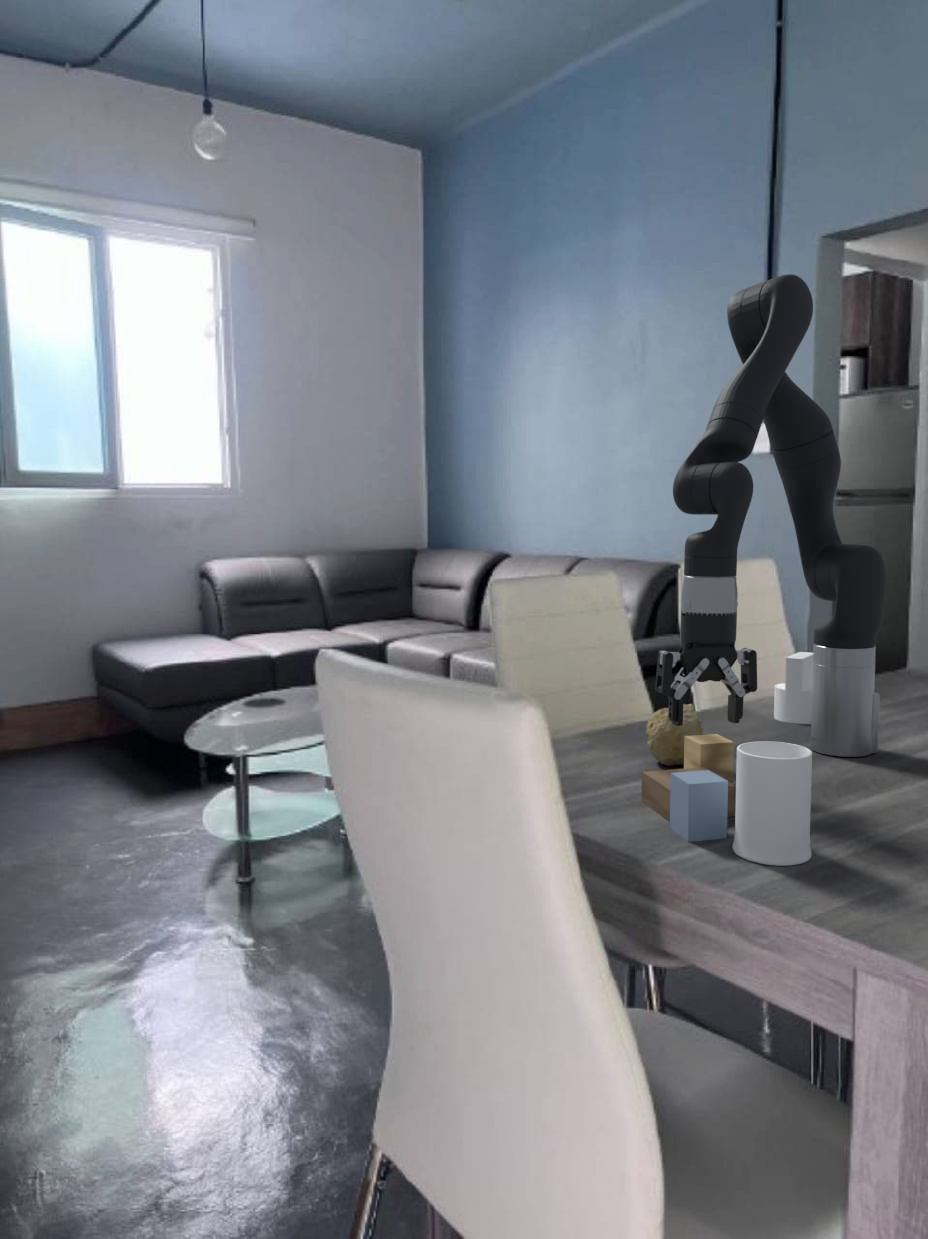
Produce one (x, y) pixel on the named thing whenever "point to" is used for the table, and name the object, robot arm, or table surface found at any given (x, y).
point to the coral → (671, 734)
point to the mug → (773, 803)
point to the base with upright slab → (795, 690)
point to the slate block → (698, 805)
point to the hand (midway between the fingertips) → (705, 723)
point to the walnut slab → (659, 791)
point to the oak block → (710, 754)
